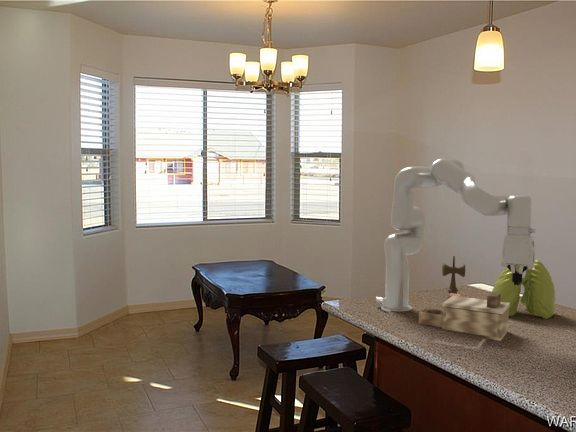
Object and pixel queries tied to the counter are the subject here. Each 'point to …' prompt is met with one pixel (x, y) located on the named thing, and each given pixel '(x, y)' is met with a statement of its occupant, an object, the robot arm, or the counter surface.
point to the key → (453, 295)
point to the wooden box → (467, 321)
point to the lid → (479, 303)
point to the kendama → (453, 274)
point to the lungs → (528, 291)
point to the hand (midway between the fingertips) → (517, 284)
